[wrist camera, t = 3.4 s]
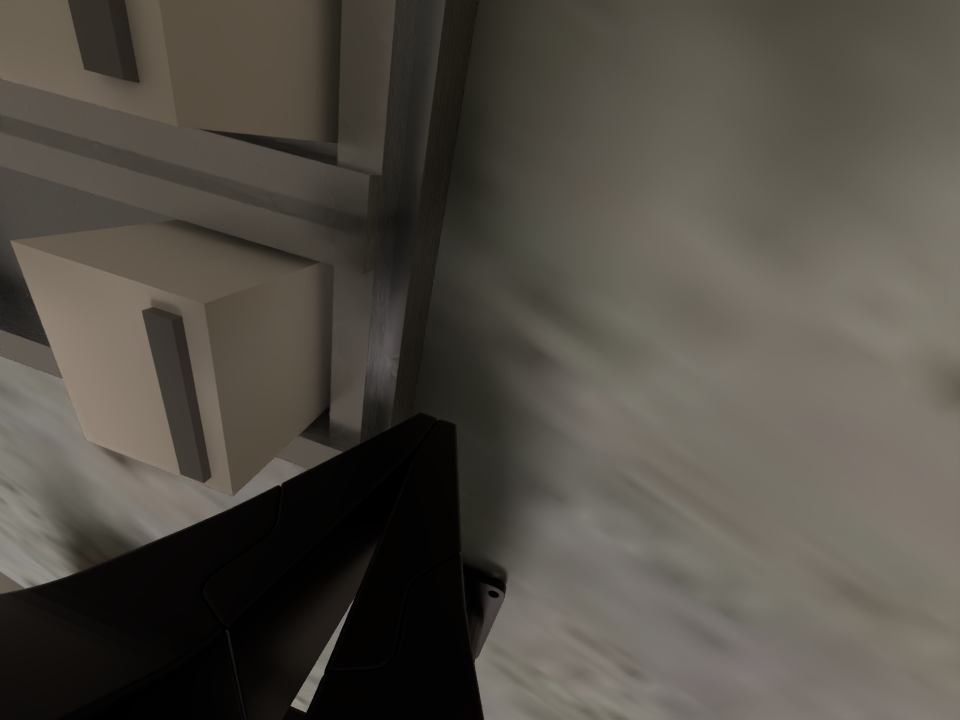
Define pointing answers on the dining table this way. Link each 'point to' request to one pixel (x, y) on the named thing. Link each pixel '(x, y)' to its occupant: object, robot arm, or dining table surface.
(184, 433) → the block
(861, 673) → the dining table surface
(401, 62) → the panel
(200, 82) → the block
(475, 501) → the dining table surface
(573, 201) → the dining table surface
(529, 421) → the dining table surface
